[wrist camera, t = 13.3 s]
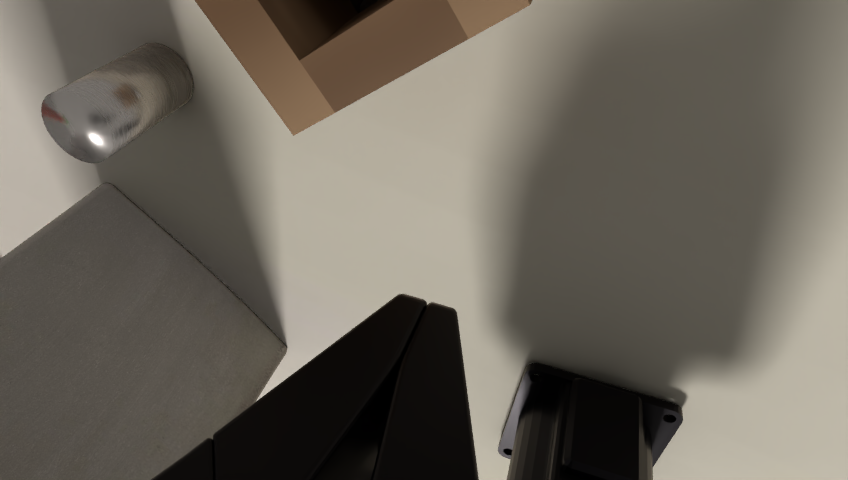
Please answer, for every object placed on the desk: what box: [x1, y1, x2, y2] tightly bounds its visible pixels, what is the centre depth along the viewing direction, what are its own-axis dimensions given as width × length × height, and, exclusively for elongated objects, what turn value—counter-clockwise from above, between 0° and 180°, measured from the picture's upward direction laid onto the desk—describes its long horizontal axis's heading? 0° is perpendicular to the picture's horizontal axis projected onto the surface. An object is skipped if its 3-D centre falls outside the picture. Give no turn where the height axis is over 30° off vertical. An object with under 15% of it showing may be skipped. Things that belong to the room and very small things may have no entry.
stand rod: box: [41, 43, 194, 163], centre depth 21 cm, size 2×2×4 cm
